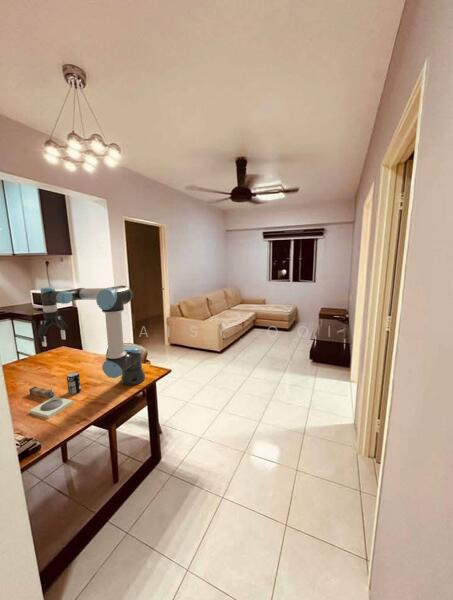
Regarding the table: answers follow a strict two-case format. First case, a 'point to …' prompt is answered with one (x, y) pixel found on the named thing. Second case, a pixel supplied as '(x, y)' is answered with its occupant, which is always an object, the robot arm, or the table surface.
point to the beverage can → (73, 383)
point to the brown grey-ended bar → (40, 392)
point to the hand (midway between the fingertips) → (54, 342)
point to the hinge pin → (51, 394)
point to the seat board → (51, 407)
